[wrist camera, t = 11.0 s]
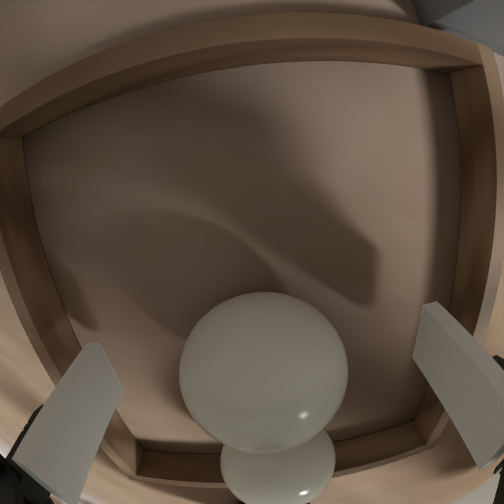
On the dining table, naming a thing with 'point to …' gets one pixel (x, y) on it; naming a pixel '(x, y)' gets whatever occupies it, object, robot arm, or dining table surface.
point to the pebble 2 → (280, 472)
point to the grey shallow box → (466, 19)
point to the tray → (243, 54)
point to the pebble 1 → (263, 372)
